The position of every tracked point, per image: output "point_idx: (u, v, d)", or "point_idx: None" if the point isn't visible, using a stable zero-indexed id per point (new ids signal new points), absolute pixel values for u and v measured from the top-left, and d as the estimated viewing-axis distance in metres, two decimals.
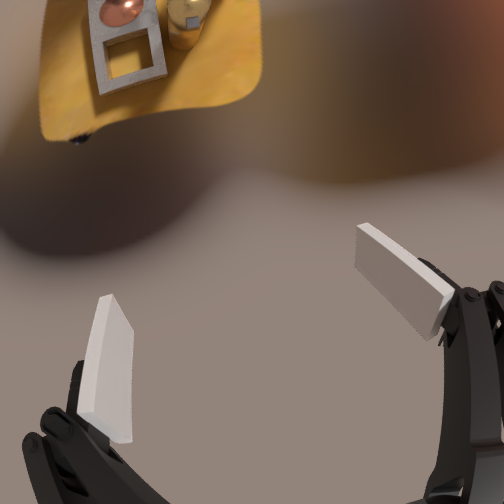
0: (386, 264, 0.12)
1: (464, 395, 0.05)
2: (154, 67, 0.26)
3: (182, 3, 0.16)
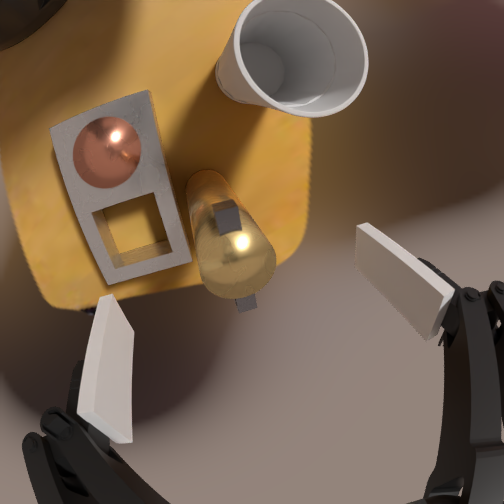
0: (386, 264, 0.12)
1: (464, 395, 0.05)
2: (174, 254, 0.25)
3: (228, 275, 0.14)
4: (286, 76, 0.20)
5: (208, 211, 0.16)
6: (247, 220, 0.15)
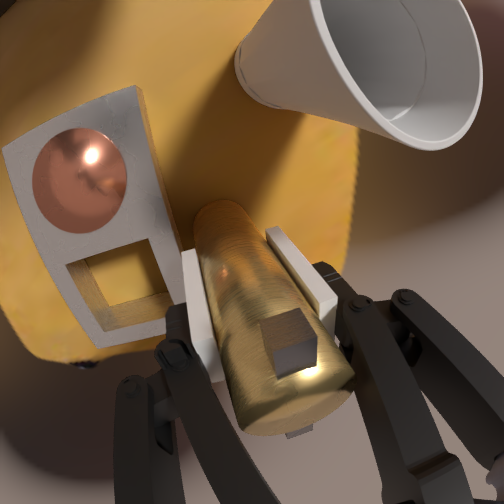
0: None
1: (382, 419, 0.06)
2: None
3: (282, 417, 0.07)
4: None
5: (240, 299, 0.10)
6: (313, 328, 0.08)
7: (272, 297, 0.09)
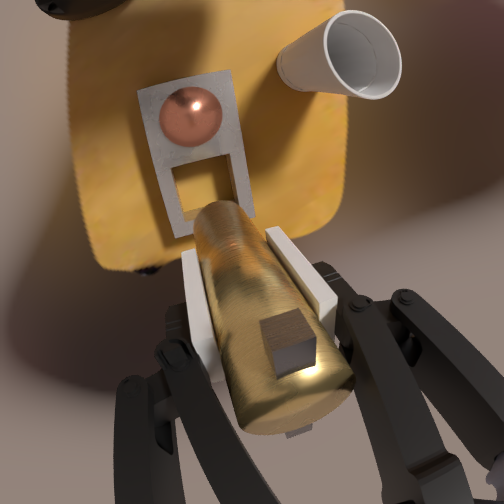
0: (284, 268, 0.13)
1: (382, 419, 0.06)
2: None
3: (281, 416, 0.08)
4: None
5: (240, 299, 0.10)
6: (313, 328, 0.08)
7: (271, 298, 0.09)
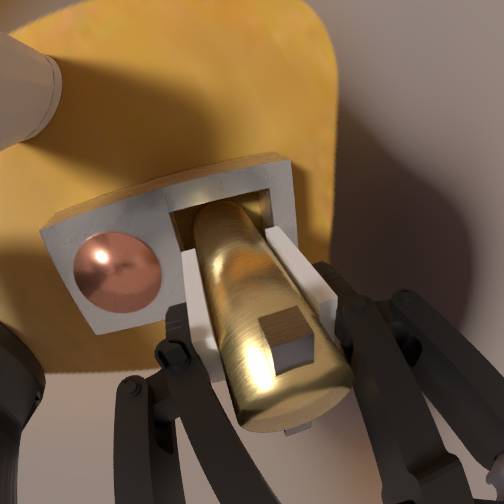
0: (284, 268, 0.13)
1: (382, 418, 0.06)
2: (272, 186, 0.16)
3: (280, 414, 0.08)
4: None
5: (239, 297, 0.10)
6: (311, 326, 0.08)
7: (270, 296, 0.09)
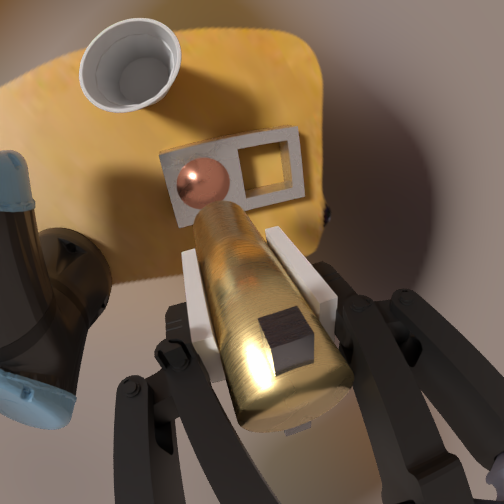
0: (284, 268, 0.13)
1: (382, 419, 0.06)
2: (289, 139, 0.30)
3: (280, 414, 0.08)
4: (147, 55, 0.22)
5: (239, 298, 0.10)
6: (311, 326, 0.08)
7: (270, 296, 0.09)
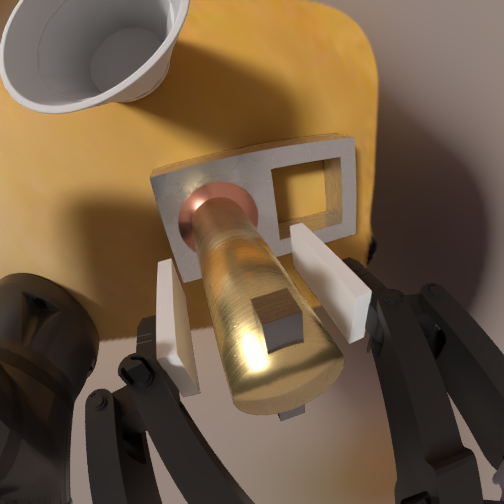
0: (312, 264, 0.13)
1: (406, 409, 0.06)
2: (342, 155, 0.20)
3: (273, 395, 0.08)
4: (132, 25, 0.12)
5: (235, 285, 0.10)
6: (302, 310, 0.09)
7: (263, 283, 0.10)
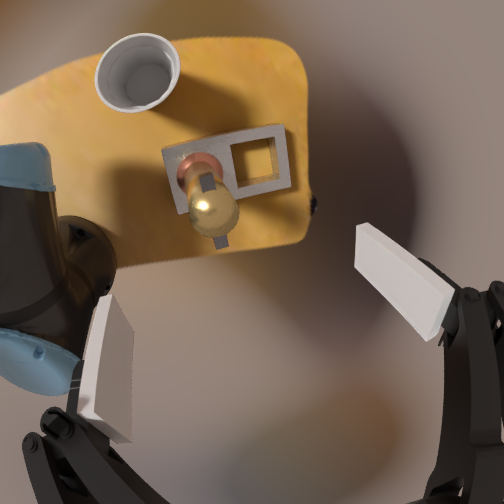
0: (386, 264, 0.12)
1: (464, 395, 0.05)
2: (276, 135, 0.34)
3: (207, 219, 0.22)
4: (150, 63, 0.26)
5: (197, 183, 0.24)
6: (221, 186, 0.22)
7: None
